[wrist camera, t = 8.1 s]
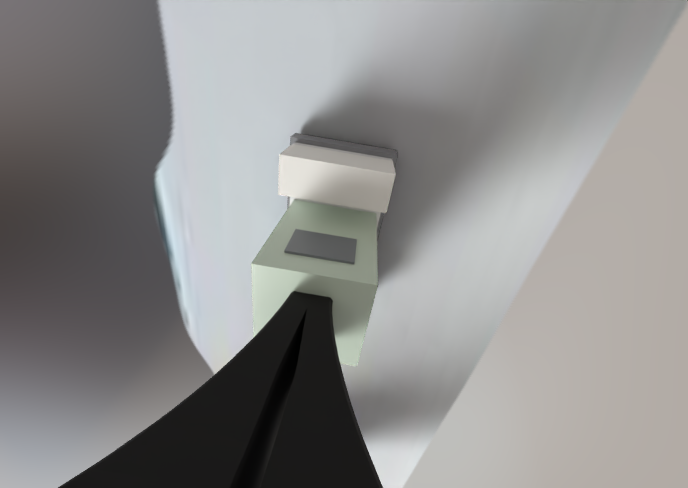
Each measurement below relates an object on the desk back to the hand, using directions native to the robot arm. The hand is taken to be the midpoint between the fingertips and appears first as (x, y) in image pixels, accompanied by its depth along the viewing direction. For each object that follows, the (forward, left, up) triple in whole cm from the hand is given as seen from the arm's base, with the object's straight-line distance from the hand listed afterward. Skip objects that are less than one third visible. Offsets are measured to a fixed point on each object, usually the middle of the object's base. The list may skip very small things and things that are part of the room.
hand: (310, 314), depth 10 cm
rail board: (0, 0, -7) cm, 7 cm away
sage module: (0, 0, -5) cm, 5 cm away
